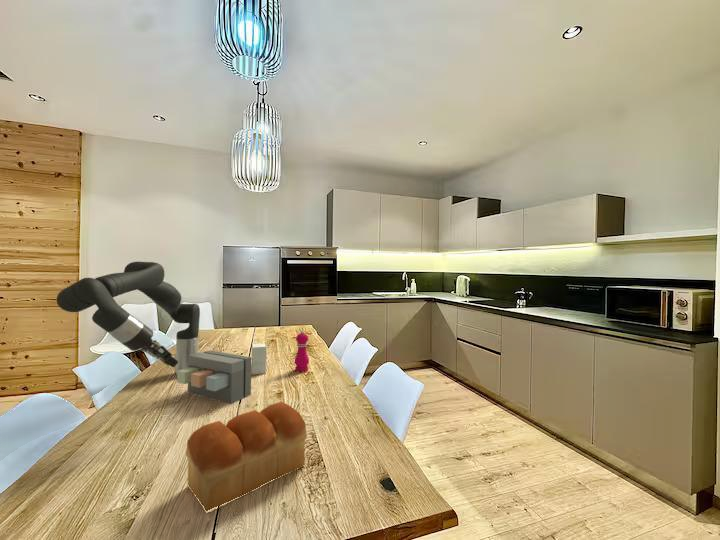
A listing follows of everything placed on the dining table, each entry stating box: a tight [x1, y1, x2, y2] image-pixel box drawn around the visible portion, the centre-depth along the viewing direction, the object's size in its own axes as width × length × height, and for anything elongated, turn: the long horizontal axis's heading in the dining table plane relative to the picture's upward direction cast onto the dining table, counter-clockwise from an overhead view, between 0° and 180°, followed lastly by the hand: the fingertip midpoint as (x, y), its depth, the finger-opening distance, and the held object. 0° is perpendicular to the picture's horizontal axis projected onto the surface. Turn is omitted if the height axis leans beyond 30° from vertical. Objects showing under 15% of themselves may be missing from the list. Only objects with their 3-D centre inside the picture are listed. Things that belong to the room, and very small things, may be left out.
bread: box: [185, 401, 308, 511], centre depth 79 cm, size 25×12×15 cm, turn 135°
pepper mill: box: [294, 329, 310, 372], centre depth 164 cm, size 7×7×20 cm
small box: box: [251, 342, 267, 376], centre depth 160 cm, size 8×6×13 cm
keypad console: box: [187, 349, 252, 405], centre depth 131 cm, size 24×10×15 cm, turn 65°
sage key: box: [176, 366, 200, 385], centre depth 128 cm, size 4×8×4 cm, turn 155°
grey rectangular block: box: [206, 372, 229, 391], centre depth 121 cm, size 4×8×4 cm, turn 155°
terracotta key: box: [191, 369, 214, 388], centre depth 125 cm, size 4×8×4 cm, turn 155°
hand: (172, 363), depth 107 cm, fingers open, 3 cm apart
